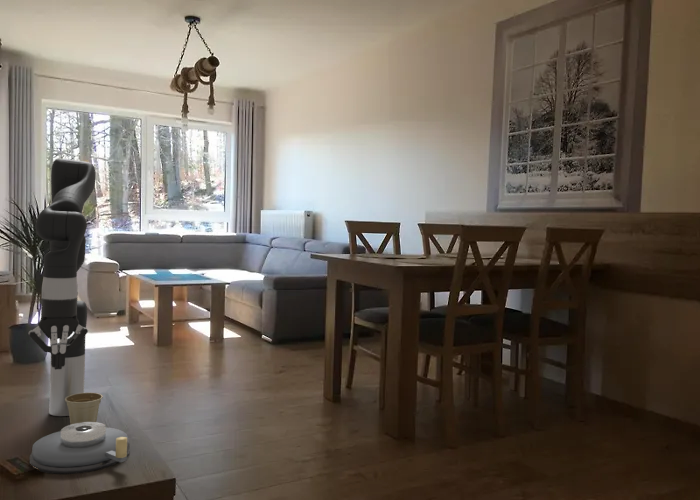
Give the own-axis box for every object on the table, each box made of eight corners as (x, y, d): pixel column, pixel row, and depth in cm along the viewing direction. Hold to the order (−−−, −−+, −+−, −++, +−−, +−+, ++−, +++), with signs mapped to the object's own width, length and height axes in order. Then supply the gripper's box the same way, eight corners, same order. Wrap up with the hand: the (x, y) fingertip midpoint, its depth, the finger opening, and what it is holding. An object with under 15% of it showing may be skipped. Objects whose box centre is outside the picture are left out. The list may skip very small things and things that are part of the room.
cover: (51, 445, 136) (51, 432, 135) (78, 431, 145) (78, 419, 145) (89, 450, 134) (89, 437, 134) (113, 435, 144) (114, 423, 144)
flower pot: (87, 435, 152) (88, 403, 152) (56, 432, 154) (57, 400, 154) (108, 424, 161) (109, 394, 161) (79, 421, 163) (80, 391, 163)
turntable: (10, 460, 131) (11, 434, 131) (72, 430, 152) (73, 408, 151) (111, 474, 126) (112, 447, 126) (161, 441, 146) (162, 418, 146)
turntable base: (25, 448, 142) (25, 443, 142) (119, 433, 154) (119, 429, 154) (34, 481, 124) (34, 476, 124) (139, 462, 136) (139, 457, 136)
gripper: (87, 293, 141) (85, 362, 142) (26, 294, 134) (24, 367, 135) (93, 297, 135) (90, 369, 136) (29, 299, 128) (27, 375, 128)
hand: (57, 368), depth 135 cm, fingers closed
